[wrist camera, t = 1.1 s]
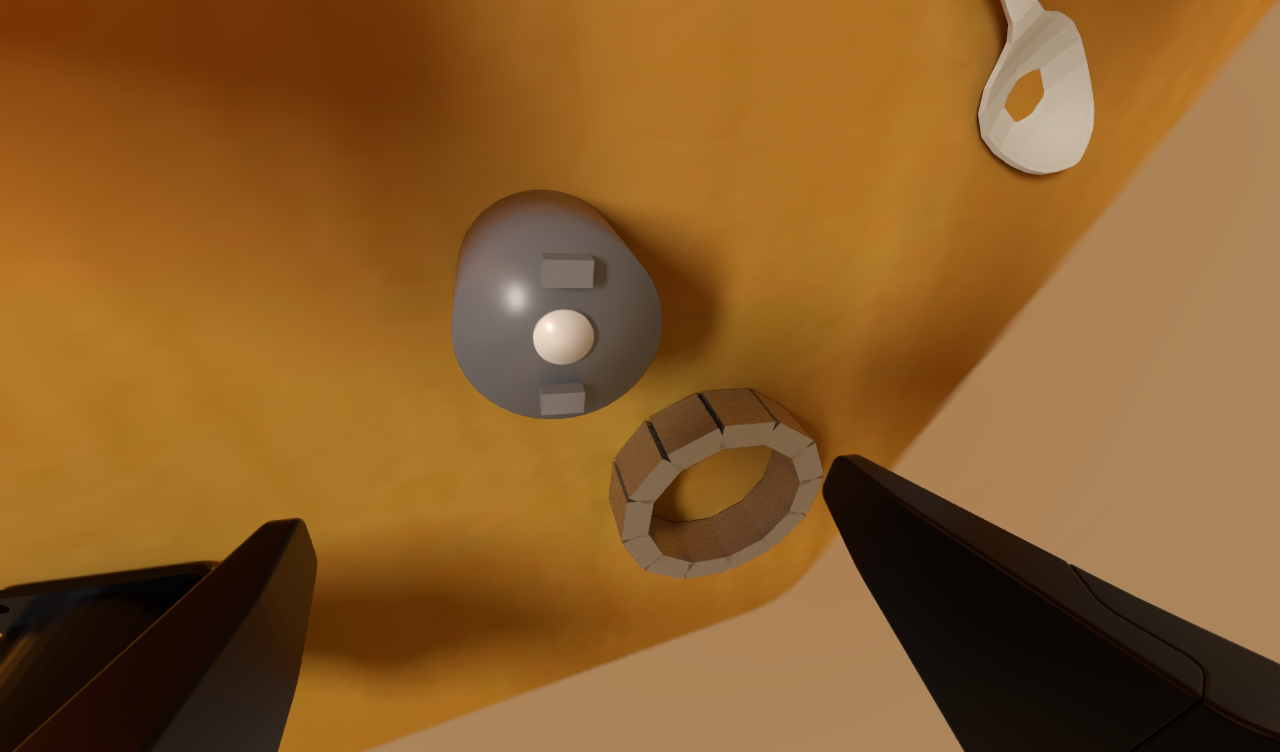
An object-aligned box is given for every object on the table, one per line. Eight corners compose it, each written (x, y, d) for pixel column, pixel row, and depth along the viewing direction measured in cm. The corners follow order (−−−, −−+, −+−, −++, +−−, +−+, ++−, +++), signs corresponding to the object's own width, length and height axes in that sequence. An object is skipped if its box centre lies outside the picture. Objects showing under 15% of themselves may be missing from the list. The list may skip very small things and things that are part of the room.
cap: (463, 349, 17) (459, 437, 13) (450, 183, 14) (439, 232, 10) (616, 344, 19) (654, 422, 15) (631, 195, 16) (683, 240, 12)
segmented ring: (603, 549, 25) (614, 592, 23) (620, 396, 20) (636, 433, 18) (766, 524, 28) (788, 560, 26) (816, 384, 23) (849, 415, 21)
